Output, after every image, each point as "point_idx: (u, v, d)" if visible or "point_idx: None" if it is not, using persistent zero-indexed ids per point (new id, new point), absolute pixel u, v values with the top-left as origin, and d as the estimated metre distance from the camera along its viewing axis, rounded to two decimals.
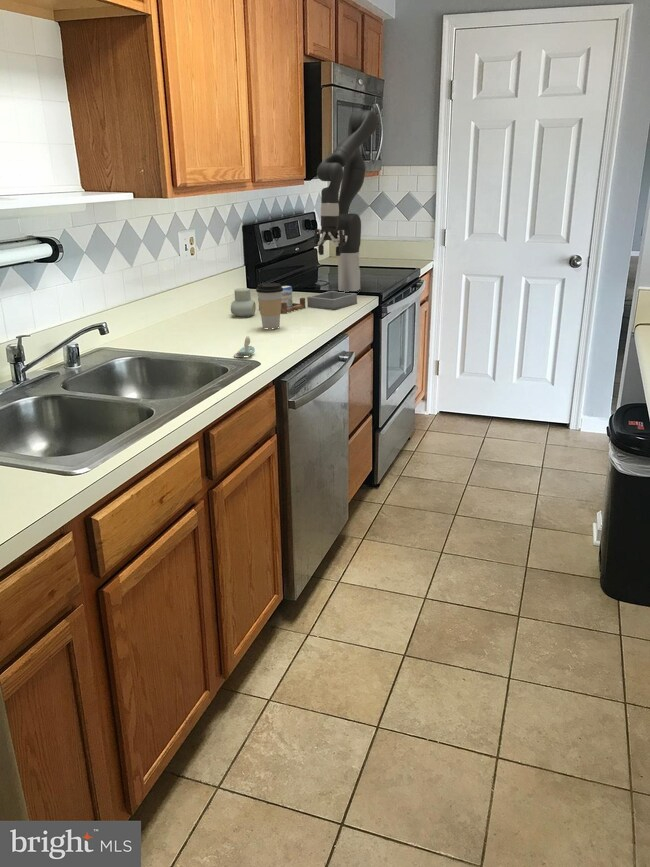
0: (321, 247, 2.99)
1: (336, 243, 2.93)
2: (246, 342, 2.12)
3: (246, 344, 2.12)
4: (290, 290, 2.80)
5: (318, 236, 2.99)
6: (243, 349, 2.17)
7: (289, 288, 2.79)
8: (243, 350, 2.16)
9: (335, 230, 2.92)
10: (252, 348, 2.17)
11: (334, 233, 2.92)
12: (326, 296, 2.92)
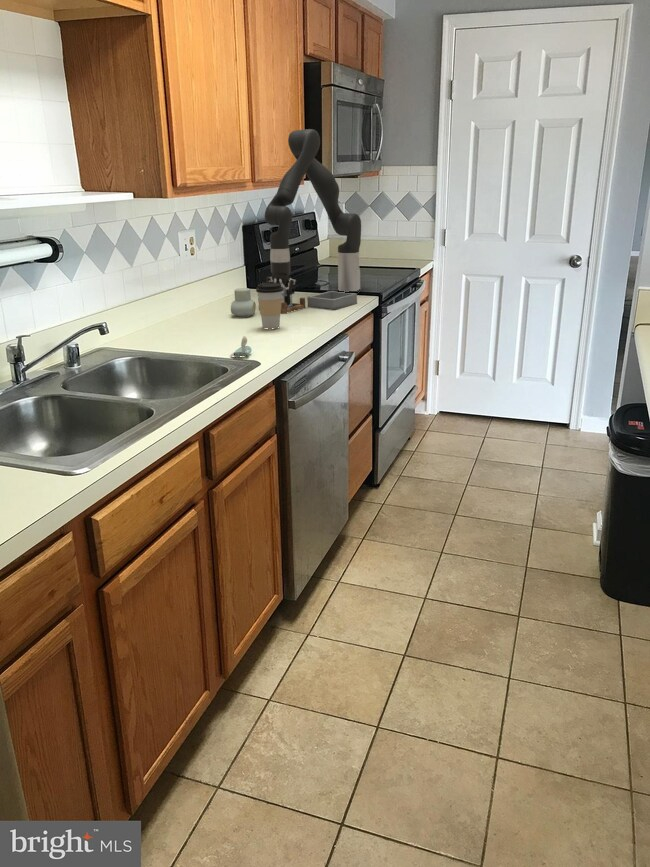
0: None
1: (285, 292, 2.77)
2: (243, 342, 2.12)
3: (243, 344, 2.13)
4: None
5: None
6: (240, 348, 2.17)
7: None
8: (240, 350, 2.16)
9: (286, 277, 2.74)
10: (249, 348, 2.17)
11: (285, 280, 2.75)
12: (326, 296, 2.92)
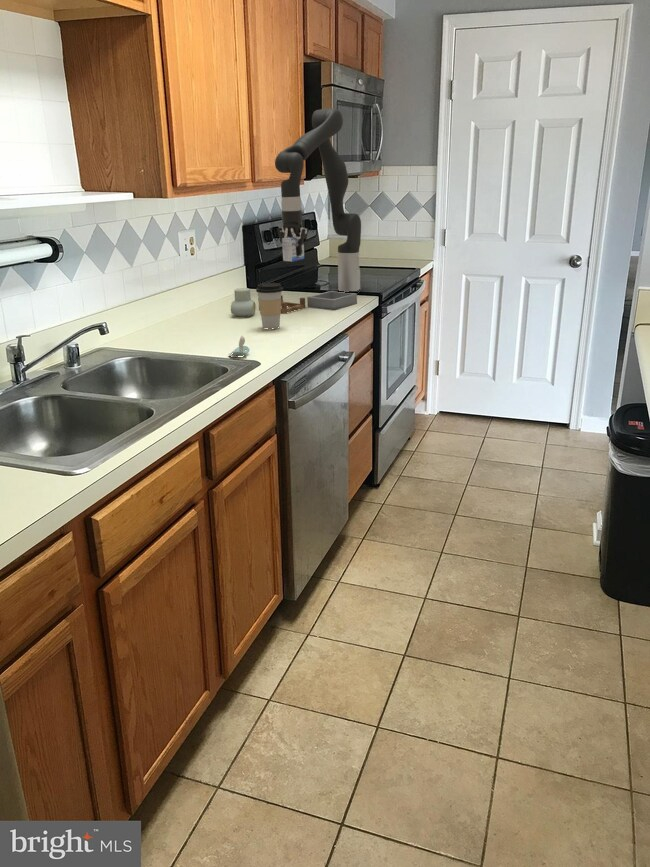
0: None
1: (296, 242, 2.72)
2: (241, 342, 2.12)
3: (241, 344, 2.13)
4: None
5: (283, 234, 2.76)
6: (238, 348, 2.17)
7: None
8: (238, 350, 2.17)
9: (298, 227, 2.69)
10: (247, 348, 2.17)
11: (296, 229, 2.70)
12: (326, 296, 2.92)
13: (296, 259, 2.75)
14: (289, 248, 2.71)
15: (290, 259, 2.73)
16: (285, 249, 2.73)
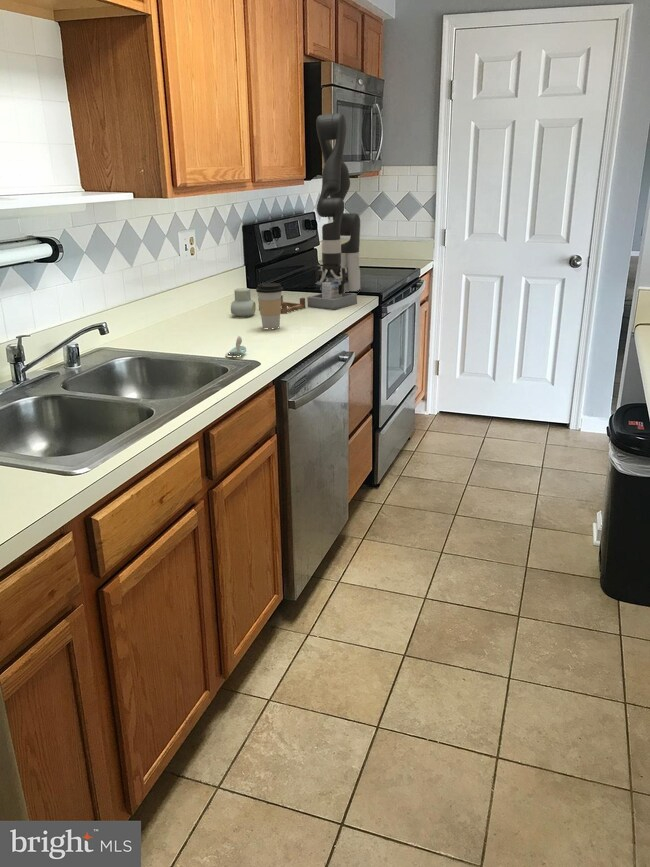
0: None
1: (339, 281, 2.80)
2: (238, 342, 2.12)
3: (238, 344, 2.13)
4: None
5: (320, 273, 2.86)
6: (235, 348, 2.17)
7: None
8: (235, 350, 2.17)
9: (337, 268, 2.79)
10: (244, 348, 2.17)
11: (336, 271, 2.79)
12: None
13: None
14: (329, 292, 2.81)
15: None
16: (324, 293, 2.83)
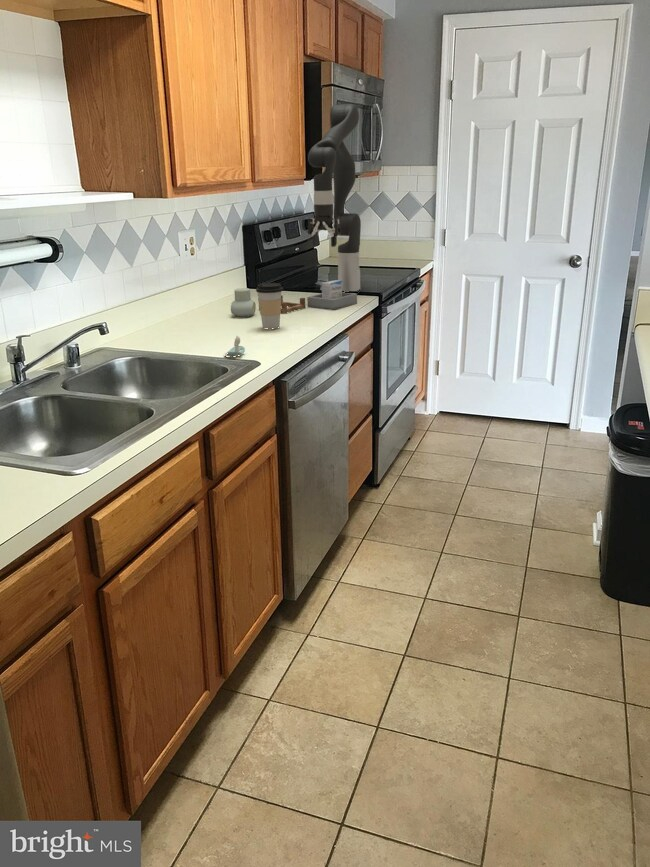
0: (315, 237, 2.82)
1: (331, 233, 2.76)
2: (236, 342, 2.12)
3: (236, 344, 2.13)
4: (340, 284, 2.85)
5: (312, 226, 2.82)
6: (233, 348, 2.17)
7: (339, 282, 2.85)
8: (233, 350, 2.17)
9: (330, 219, 2.75)
10: (242, 348, 2.17)
11: (329, 222, 2.76)
12: None
13: None
14: (329, 292, 2.81)
15: None
16: (324, 293, 2.83)
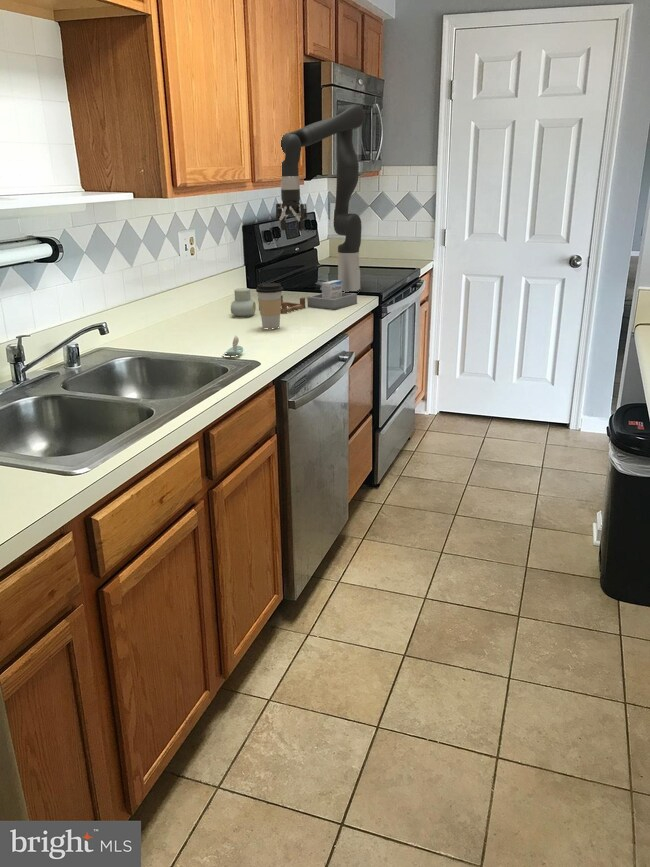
0: (283, 222, 2.92)
1: (298, 217, 2.86)
2: (234, 342, 2.12)
3: (234, 344, 2.13)
4: (340, 284, 2.85)
5: (280, 211, 2.91)
6: (232, 348, 2.17)
7: (339, 282, 2.85)
8: (232, 350, 2.17)
9: (296, 204, 2.84)
10: (241, 348, 2.17)
11: (295, 207, 2.85)
12: None
13: None
14: (329, 292, 2.81)
15: None
16: (324, 293, 2.83)
